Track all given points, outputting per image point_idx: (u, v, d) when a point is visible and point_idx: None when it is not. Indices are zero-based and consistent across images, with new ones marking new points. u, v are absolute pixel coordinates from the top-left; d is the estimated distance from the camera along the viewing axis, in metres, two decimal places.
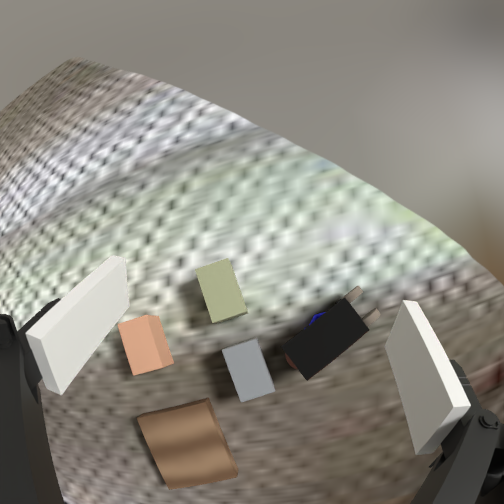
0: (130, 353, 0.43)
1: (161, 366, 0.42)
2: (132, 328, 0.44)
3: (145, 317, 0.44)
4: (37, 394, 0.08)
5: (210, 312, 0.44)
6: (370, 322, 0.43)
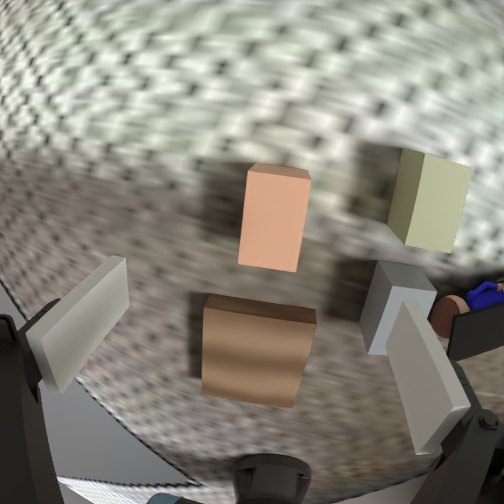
0: (249, 229, 0.26)
1: (294, 269, 0.27)
2: (274, 189, 0.25)
3: (307, 183, 0.24)
4: (37, 394, 0.08)
5: (411, 229, 0.24)
6: None
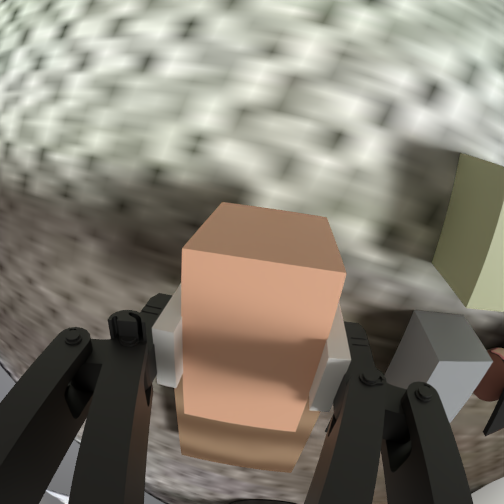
0: (198, 367, 0.11)
1: (292, 429, 0.12)
2: (249, 294, 0.10)
3: (336, 281, 0.09)
4: (150, 396, 0.10)
5: (478, 285, 0.14)
6: None
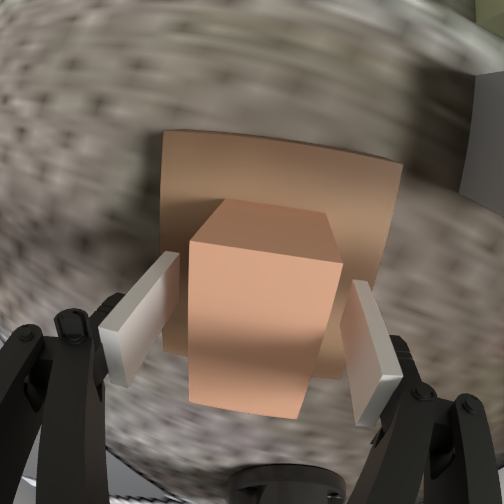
0: (203, 355, 0.12)
1: (293, 416, 0.13)
2: (253, 284, 0.11)
3: (333, 271, 0.10)
4: (101, 392, 0.09)
5: None
6: None
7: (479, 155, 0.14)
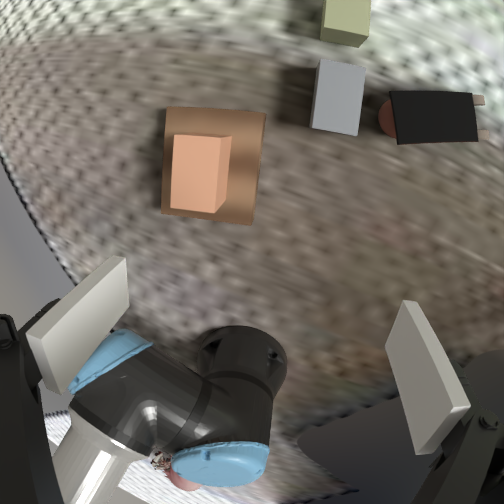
0: (177, 179, 0.33)
1: (212, 211, 0.33)
2: (193, 147, 0.31)
3: (218, 140, 0.31)
4: (37, 394, 0.08)
5: (327, 16, 0.26)
6: (479, 137, 0.29)
7: (312, 106, 0.35)
